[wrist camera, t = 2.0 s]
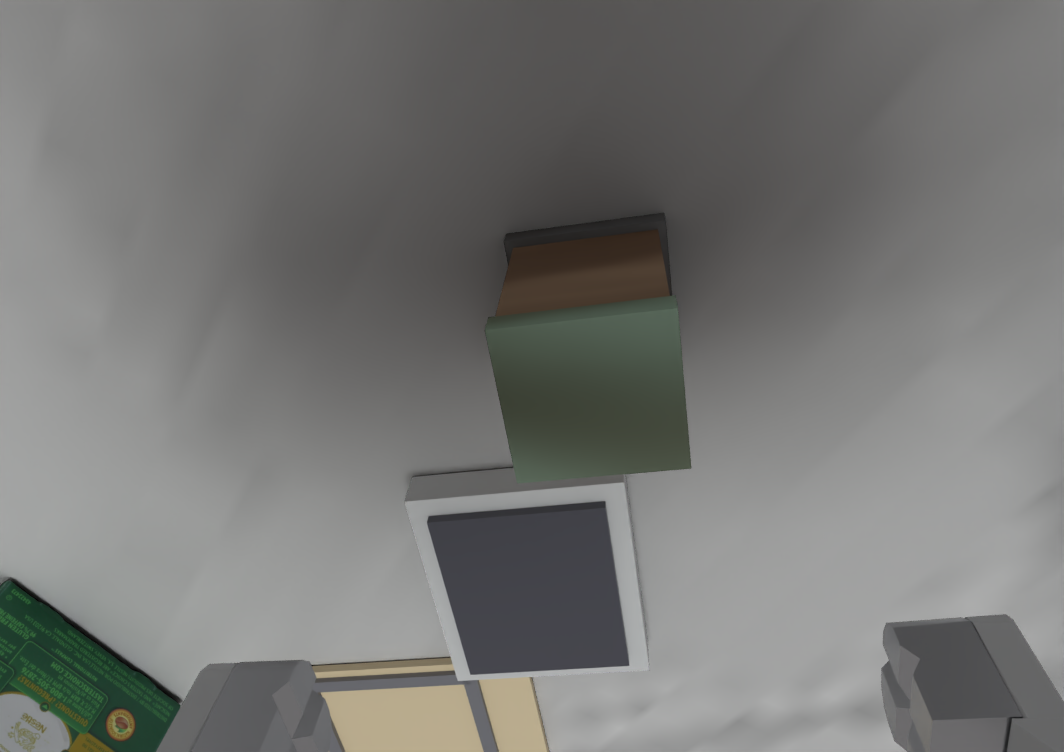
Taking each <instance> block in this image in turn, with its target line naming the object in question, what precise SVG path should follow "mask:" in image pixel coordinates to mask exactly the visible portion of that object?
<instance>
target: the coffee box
mask: <svg viewBox="0 0 1064 752" xmlns="http://www.w3.org/2000/svg"><path fill="white" fill-rule="evenodd" d="M179 709H180V704H178V703H177V702H176V701H175V700H173V699H171V698H170V697H168V696H167V695H166V694H164V693H163V692H162V691H161V690H159V689H158V688H157V687H156V686H155V685H154V684H153V683H152V682H151V681H150V680H149V679H148V678H147V677H145V676H144V675H143V674H141V673H140V672H136V671H133V670H131V669H130V668H129V667H128V666H127V665H125V664H123V663H122V662H120V661H119V660H118V659H116V658H115V657H114V656H112V655H111V654H110V653H108V652H107V651H106V650H104V649H103V648H102V647H100V646H99V645H97V644H96V643H94V642H93V641H92V640H90V639H89V638H87V637H86V636H85V635H83V634H82V633H81V632H79V631H78V630H77V629H75V628H74V627H73V626H71V625H70V624H68V623H67V622H65V621H64V619H63V618H62V617H61V616H60V615H59V614H58V613H57V612H55V611H54V610H52V609H51V608H50V607H48V606H47V605H45V604H43V603H41V602H38V601H37V600H35V599H34V598H33V597H31V596H30V595H28V594H27V593H26V592H24V591H23V590H22V589H20V588H19V587H18V586H16V585H15V584H14V583H13V582H12V581H9V580H8V581H5V582H4V583H3V584H2V585H1V586H0V752H156V751H157V749H158V747H159V745H160V744H161V742H162V740H163V738H164V736H165V734H166V733H167V731H168V729H169V727H170V725H171V724H172V722H173V720H174V718H175V716H176V714H177V713H178V711H179Z"/></svg>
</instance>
